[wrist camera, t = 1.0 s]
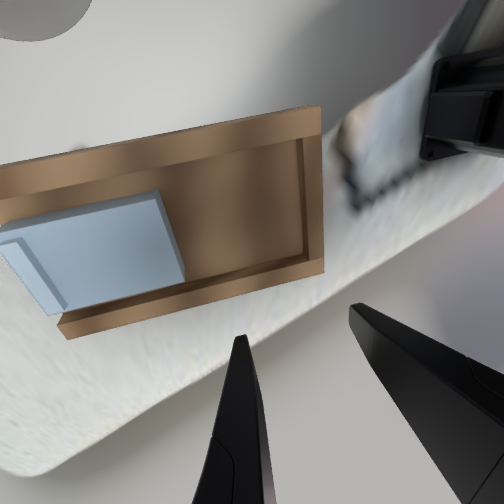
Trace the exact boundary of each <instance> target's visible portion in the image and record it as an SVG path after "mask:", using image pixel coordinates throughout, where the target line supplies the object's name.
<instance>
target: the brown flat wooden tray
mask: <svg viewBox="0 0 504 504" xmlns="http://www.w3.org/2000/svg"><path fill="white" fill-rule="evenodd" d="M156 189H158V190H159V193H160V196H161V199H162V201H163V204H164V207H165V210H166V213H167V216H168V219H169V222H170V225H171V228H172V231H173V234H174V236H175V239H176V242H177V245H178V248H179V251H180V254H181V257H182V260H183V263H184V266H185V282H182V283H178V284H174V285H170V286H166V287H162V288H158V289H154V290H150V291H146V292H142V293H138V294H134V295H130V296H126V297H122V298H118V299H114V300H110V301H106V302H102V303H98V304H94V305H90V306H86V307H82V308H79V309H75V310H71V311H67V312H63V316H62V317H61V319H60V321H59V323H58V324H57V327H58V328H59V330H60V331H61V332H62V334H63V335H64V336H65V338H66V339H67V340H70V339H74V338H78V337H82V336H86V335H89V334H93V333H97V332H101V331H105V330H108V329H112V328H116V327H120V326H124V325H128V324H131V323H135V322H139V321H143V320H147V319H150V318H154V317H158V316H162V315H166V314H169V313H173V312H177V311H181V310H185V309H188V308H192V307H196V306H200V305H204V304H208V303H211V302H215V301H219V300H223V299H227V298H230V297H234V296H238V295H242V294H246V293H249V292H253V291H257V290H261V289H265V288H268V287H272V286H276V285H280V284H284V283H288V282H291V281H295V280H299V279H303V278H307V277H310V276H314V275H318V274H322V273H324V236H323V189H322V141H321V107H320V106H302V107H297V108H292V109H287V110H282V111H277V112H271V113H266V114H261V115H256V116H251V117H246V118H240V119H235V120H231V121H225V122H220V123H215V124H210V125H204V126H199V127H194V128H189V129H184V130H179V131H173V132H168V133H163V134H158V135H153V136H148V137H142V138H137V139H133V140H128V141H122V142H117V143H111V144H106V145H101V146H96V147H91V148H86V149H80V150H75V151H70V152H65V153H60V154H55V155H49V156H45V157H40V158H35V159H29V160H24V161H18V162H13V163H8V164H3V165H0V225H1V226H2V225H3V224H5V223H6V222H8V221H12V220H16V219H21V218H26V217H30V216H35V215H40V214H44V213H49V212H54V211H58V210H63V209H68V208H72V207H77V206H82V205H86V204H91V203H96V202H100V201H105V200H110V199H114V198H119V197H124V196H128V195H133V194H138V193H142V192H147V191H152V190H156Z"/></svg>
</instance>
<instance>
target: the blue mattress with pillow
mask: <svg viewBox="0 0 504 504" xmlns="http://www.w3.org/2000/svg"><path fill="white" fill-rule="evenodd" d="M0 253H1V254H2V256H3V257H4V258H5V260H6V261H7V262H8V264H9V265H10V266H11V268H12V269H13V271H14V272H15V273H16V275H17V276H18V277H19V279H20V280H21V281H22V283H23V284H24V285H25V287H26V288H27V289H28V291H29V292H30V293H31V295H32V296H33V297H34V299H35V300H36V301H37V303H38V304H39V305H40V307H41V308H42V309H43V311H44V312H45V313H46V315H47V316H51V315H55V314H59V313H63V312H67V311H71V310H75V309H79V308H82V307H86V306H90V305H94V304H98V303H102V302H106V301H110V300H114V299H118V298H122V297H126V296H130V295H134V294H138V293H142V292H146V291H150V290H154V289H158V288H162V287H166V286H170V285H174V284H178V283H182V282H185V266H184V263H183V260H182V257H181V254H180V251H179V248H178V245H177V242H176V239H175V236H174V234H173V231H172V228H171V225H170V222H169V219H168V216H167V213H166V210H165V207H164V204H163V201H162V199H161V196H160V193H159V190H158V189H156V190H152V191H147V192H142V193H138V194H133V195H128V196H124V197H119V198H114V199H110V200H105V201H100V202H96V203H91V204H86V205H82V206H77V207H72V208H68V209H63V210H58V211H54V212H49V213H44V214H40V215H35V216H30V217H26V218H21V219H16V220H12V221H8V222H6V223H5V224H3V225H2V226H1V227H0Z"/></svg>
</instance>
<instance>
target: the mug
mask: <svg viewBox="0 0 504 504" xmlns="http://www.w3.org/2000/svg"><path fill="white" fill-rule="evenodd" d="M91 1H92V0H0V38H5V39H10V40H16V41H40V40H46V39H50V38H53V37H56V36H58V35H60V34H62V33H64V32H66V31H68V30H69V29H70V28H72V27H73V26H74V25H75V24H76V23H77V22H78V21H79V20H80V19H81V18H82V17H83V15H84V14H85V12H86V11H87V9H88V8H89V6H90V3H91Z"/></svg>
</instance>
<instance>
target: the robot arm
mask: <svg viewBox="0 0 504 504" xmlns="http://www.w3.org/2000/svg"><path fill="white" fill-rule="evenodd" d="M444 64H445V67H444V69H443V65H444ZM467 152H473V153H479V154H484V155H489V156H495V157H500V158H504V47H499V48H493V49H488V50H482V51H477V52H471V53H466V54H461V55H455V56H450V57H444V58H441V59H439V60H438V61H437V63H436V65H435V68H434V74H433V80H432V86H431V92H430V99H429V105H428V111H427V117H426V124H425V130H424V136H423V142H422V148H421V159H422V160H425V161H432V160H436V159H440V158H445V157H449V156H454V155H458V154H462V153H467ZM428 153H429V155H428ZM427 155H428V156H427ZM349 325H350V328H351V330H352V331H353V333H354V335H355V337H356V339H357V341H358V343H359V345H360V347H361V349H362V351H363V352H364V355H365V357H366V358H367V360H368V362H369V364H370V366H371V367H372V369H373V370H374V372H375V374H376V375H377V377H378V378H379V380H380V381H381V383H382V384H383V386H384V387H385V389H386V390H387V391H388V393H389V395H390V396H391V398H392V399H393V401H394V402H395V404H396V405H397V407H398V408H399V410H400V411H401V413H402V414H403V416H404V417H405V419H406V420H407V422H408V423H409V425H410V426H411V428H412V429H413V431H414V432H415V434H416V435H417V437H418V438H419V440H420V442H421V443H422V445H423V446H424V448H425V449H426V451H427V452H428V454H429V455H430V457H431V458H432V460H433V461H434V463H435V464H436V466H437V467H438V469H439V470H440V472H441V473H442V475H443V476H444V478H445V479H446V481H447V482H448V484H449V485H450V487H451V488H452V490H453V491H454V493H455V494H456V496H457V498H458V499H459V500H460V502H461V503H462V504H504V374H502V373H500V372H498V371H496V370H493V369H491V368H489V367H487V366H485V365H483V364H481V363H479V362H477V361H475V360H473V359H471V358H469V357H466V356H465V355H463V354H461V353H459V352H458V351H455V350H454V349H452V348H450V347H448V346H445V345H444V344H442V343H440V342H438V341H436V340H434V339H432V338H430V337H428V336H426V335H424V334H422V333H420V332H418V331H416V330H414V329H412V328H410V327H408V326H406V325H404V324H403V323H400V322H398V321H397V320H395V319H393V318H391V317H389V316H387V315H385V314H383V313H381V312H379V311H377V310H375V309H373V308H371V307H369V306H367V305H365V304H363V303H356V304H352V305H350V307H349ZM212 436H213V437H211V439H210V443H209V448H208V452H207V456H206V459H205V463H204V467H203V470H202V474H201V477H200V480H199V483H198V486H197V489H196V492H195V496H194V498H193V501H192V504H276V497H275V489H274V482H273V474H272V467H271V460H270V452H269V444H268V437H267V429H266V422H265V414H264V407H263V400H262V395H261V390H260V386H259V382H258V378H257V374H256V370H255V365H254V361H253V357H252V353H251V349H250V345H249V342H248V338H247V335H246V334H244V335H240V336H237V337H235V339H234V343H233V348H232V352H231V356H230V360H229V364H228V369H227V373H226V377H225V381H224V385H223V389H222V394H221V398H220V402H219V406H218V410H217V415H216V419H215V423H214V427H213V432H212Z"/></svg>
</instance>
